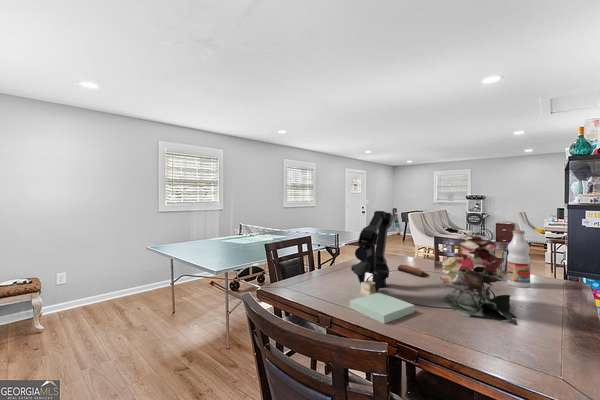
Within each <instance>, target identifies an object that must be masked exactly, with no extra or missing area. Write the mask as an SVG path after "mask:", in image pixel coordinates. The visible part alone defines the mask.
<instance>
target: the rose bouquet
mask: <svg viewBox="0 0 600 400" xmlns="http://www.w3.org/2000/svg"><path fill="white" fill-rule="evenodd" d="M464 240H465V241H462V242H460V243H459V245H460V246H461V247H462V249H463V250H461V255H462V256H452V257H451V256H450V257H448V258H447V259H446V260H444V261H442V264H441V265H442V266H441V268H442V269H443V270H442V271H441V272H442V273H444V274H443V275H442V276H440V277H439V279H440V280H441V281H442V283H441V285H442V286H446V287H449V288H452V289H454V290H453V291H452V292H451V294H450V293H448V294H447V295H445V297H443V298H442V301H443V302H444V303H446V304H447V305H449V306H451V308H452V309H451V311H453V312H456V311H459V314H460V315H463V316H465V317H467V318H468V317H469V318H470V317H472V316H476V317H481V318H486V319H492V316H489V315H487V314H485V313H484V310H485V307H486V308H488V309H490V310H491V311H494V312H496V313H499V314H500V315H501V316H503V317H505V318H506V319H502V320H500V321H501V322H504V323H508V324H513V325H515V326H517V325H518V324H517V322H516V321H517V320H516V319H515V318H517V316H516V315H514V314H513V313H512V312H510V310H511V304H510V301H511V298H510V297H512V295H511V294H501V295H496V296H494V298H492V297H490V295H491V293H490V288H491V286H492V287H493V286H494V284H492V283H497V282H502V281H506V278H504V277H503V276H502V275H501V273H502V269H503V267H502V266H501V265H502V264H503V263H504V262H505V260H506V259H505V258H504V257H498V256H497V253H496V252H495V250H496V249H497V248H498V245H497V244H496V242H493V241H491V240H489V239H487V238H485V236H481V235H471V236H470V235H469V236H468V235H467V237H465V238H464ZM507 272H508V273H513V272H511V271H507V270H506V273H507ZM484 284H487V285H489V286H488V287H487V288H485V285H484ZM456 291H459V293H458V295H455V294H456ZM463 294H467V295H469V296H470V297H464V296H463ZM476 307H477V308H476ZM512 318H514V319H512ZM516 324H517V325H516Z"/></svg>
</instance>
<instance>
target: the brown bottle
mask: <svg viewBox="0 0 600 400" xmlns="http://www.w3.org/2000/svg"><path fill="white" fill-rule="evenodd" d="M397 270H398V271H401V272H406V273H409V274H413V275H416V276H418V277H421V278H426V277H429V276H430V275H431V274H429V273H428V272H425V271H423V269H421V268H420V267H413V266H412V265H407V264H400V265H398V267H397Z"/></svg>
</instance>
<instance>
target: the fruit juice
mask: <svg viewBox="0 0 600 400" xmlns="http://www.w3.org/2000/svg"><path fill="white" fill-rule="evenodd" d="M525 233H526V232H525V230H520V229H519V230H516V229H515V230H512V239H511V241H510V242H509V243H508V244H507V251H508V254H507V259H506V264H507V265H506V267H507V268H506V274H507V275H506V279H507V280H506V283H507V284H508V285H510V286H512V287H515V288H516V287H517V288H524V289H527V288H530V287H531V258H530V252H531V251H530V250H531V248H530V245H529V244H528V243H527V241H526V239H525ZM507 271H511V272H513V273H508V272H507Z"/></svg>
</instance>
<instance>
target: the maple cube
mask: <svg viewBox="0 0 600 400" xmlns="http://www.w3.org/2000/svg"><path fill="white" fill-rule="evenodd" d="M375 293H379V292H376V291H375V282H373V280H364V282H361V285H360V295H363V296H368V295H372V294H375Z"/></svg>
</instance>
